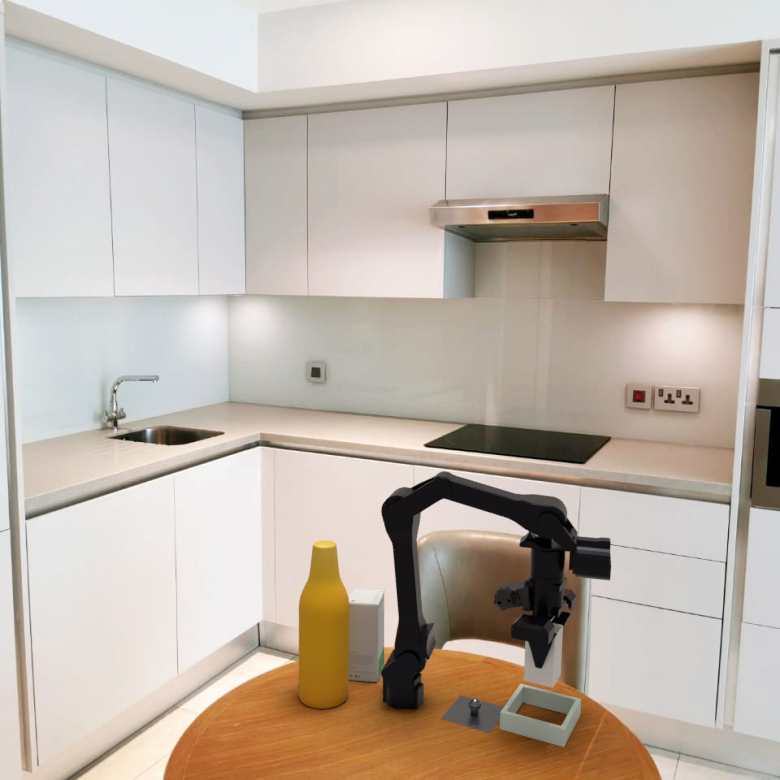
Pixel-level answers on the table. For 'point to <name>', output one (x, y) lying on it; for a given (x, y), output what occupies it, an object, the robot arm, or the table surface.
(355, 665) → the skincare box
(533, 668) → the grey tall block
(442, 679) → the table surface
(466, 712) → the stud plate
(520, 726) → the bin
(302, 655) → the beer bottle
